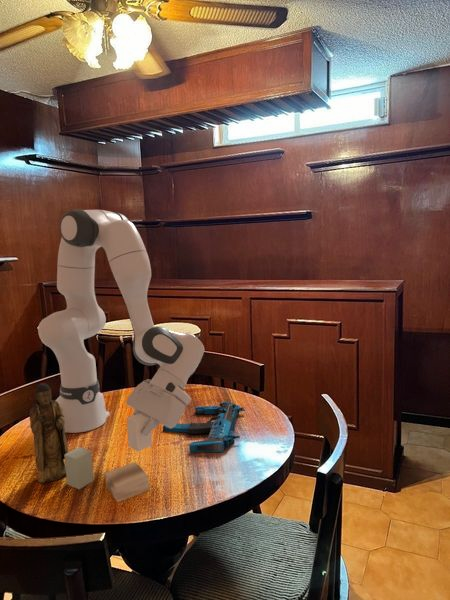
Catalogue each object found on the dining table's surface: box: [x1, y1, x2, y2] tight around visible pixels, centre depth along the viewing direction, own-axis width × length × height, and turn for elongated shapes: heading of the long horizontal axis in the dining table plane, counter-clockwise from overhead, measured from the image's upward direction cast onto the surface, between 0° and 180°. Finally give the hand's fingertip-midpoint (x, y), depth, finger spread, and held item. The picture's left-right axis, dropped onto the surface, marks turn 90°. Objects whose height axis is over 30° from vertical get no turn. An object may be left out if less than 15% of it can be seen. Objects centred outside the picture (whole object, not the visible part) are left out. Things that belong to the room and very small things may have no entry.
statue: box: [29, 382, 69, 485], centre depth 109 cm, size 9×9×25 cm
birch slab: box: [104, 461, 150, 503], centre depth 105 cm, size 8×8×4 cm
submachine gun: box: [162, 398, 246, 453], centre depth 138 cm, size 34×4×25 cm
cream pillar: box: [126, 413, 153, 453], centre depth 115 cm, size 4×4×8 cm
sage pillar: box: [64, 446, 95, 490], centre depth 108 cm, size 4×4×8 cm
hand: (137, 431), depth 115 cm, fingers closed on cream pillar, 4 cm apart
